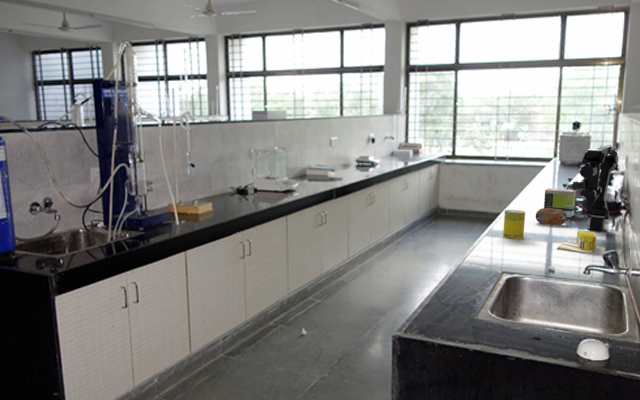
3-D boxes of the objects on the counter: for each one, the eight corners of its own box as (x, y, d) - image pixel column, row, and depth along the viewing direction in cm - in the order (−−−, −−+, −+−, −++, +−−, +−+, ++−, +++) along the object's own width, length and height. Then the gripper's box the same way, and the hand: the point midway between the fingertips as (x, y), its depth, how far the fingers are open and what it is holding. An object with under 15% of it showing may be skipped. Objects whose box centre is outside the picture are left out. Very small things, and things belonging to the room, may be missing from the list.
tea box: (574, 215, 296) (576, 189, 294) (571, 218, 288) (574, 191, 286) (545, 212, 304) (547, 187, 302) (542, 215, 296) (544, 189, 294)
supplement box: (591, 244, 229) (595, 250, 219) (576, 243, 231) (579, 249, 221) (592, 231, 228) (596, 236, 218) (577, 230, 230) (580, 235, 220)
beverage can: (524, 239, 240) (526, 213, 238) (504, 238, 242) (506, 213, 240) (521, 234, 249) (523, 210, 247) (501, 233, 250) (503, 209, 248)
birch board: (564, 242, 233) (564, 241, 233) (596, 247, 226) (596, 246, 225) (557, 248, 223) (557, 247, 223) (590, 254, 215) (590, 252, 215)
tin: (535, 223, 274) (536, 207, 273) (535, 222, 277) (536, 206, 275) (566, 226, 268) (567, 210, 267) (566, 224, 271) (567, 209, 270)
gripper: (577, 173, 254) (575, 204, 257) (569, 176, 240) (566, 210, 242) (603, 174, 248) (600, 207, 250) (596, 178, 233) (592, 212, 236)
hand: (589, 209), depth 245 cm, fingers closed
